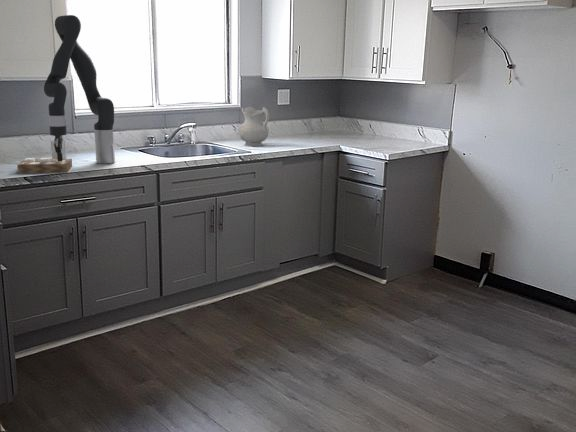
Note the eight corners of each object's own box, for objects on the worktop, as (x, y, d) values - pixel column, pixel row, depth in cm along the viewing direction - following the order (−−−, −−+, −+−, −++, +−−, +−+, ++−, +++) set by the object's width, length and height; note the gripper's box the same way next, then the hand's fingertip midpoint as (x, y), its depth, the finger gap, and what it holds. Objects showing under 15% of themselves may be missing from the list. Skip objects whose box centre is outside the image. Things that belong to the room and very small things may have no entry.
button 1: (35, 162, 295) (35, 157, 295) (33, 163, 291) (33, 159, 291) (26, 162, 294) (26, 158, 294) (24, 163, 291) (24, 159, 290)
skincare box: (60, 161, 318) (58, 138, 315) (66, 162, 317) (65, 139, 314) (51, 163, 313) (50, 140, 310) (58, 164, 311) (56, 140, 308)
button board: (72, 166, 305) (71, 157, 304) (67, 172, 290) (66, 163, 288) (25, 167, 301) (24, 158, 299) (18, 173, 285) (17, 163, 284)
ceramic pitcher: (276, 146, 394) (278, 107, 390) (263, 147, 377) (264, 107, 372) (246, 144, 403) (248, 106, 398) (232, 145, 385) (233, 105, 381)
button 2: (65, 164, 298) (65, 160, 298) (64, 165, 294) (64, 161, 294) (57, 164, 297) (56, 160, 297) (55, 165, 294) (55, 161, 293)
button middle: (50, 161, 296) (50, 157, 296) (49, 163, 293) (48, 159, 292) (41, 161, 296) (41, 157, 295) (40, 163, 292) (39, 159, 291)
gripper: (63, 126, 285) (66, 163, 290) (68, 123, 298) (70, 158, 302) (46, 126, 284) (49, 163, 288) (51, 123, 296) (54, 158, 301)
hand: (60, 160), depth 295 cm, fingers closed
